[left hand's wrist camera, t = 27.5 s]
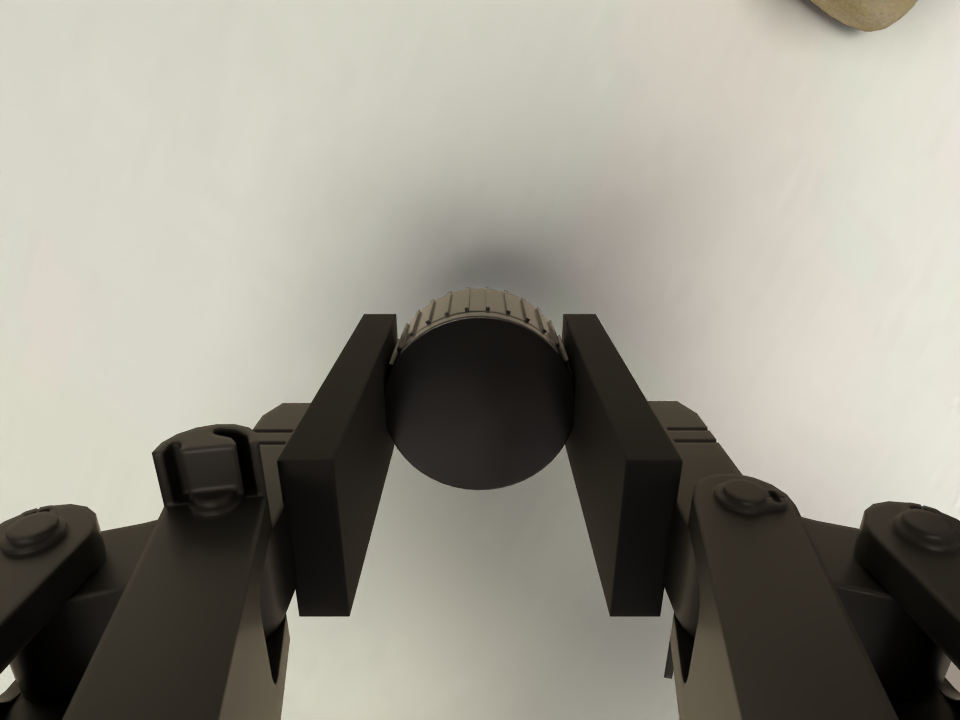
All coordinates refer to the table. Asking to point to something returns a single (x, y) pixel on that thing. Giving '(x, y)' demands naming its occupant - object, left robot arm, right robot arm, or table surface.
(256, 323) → the table surface
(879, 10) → the sculpture
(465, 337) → the cap
